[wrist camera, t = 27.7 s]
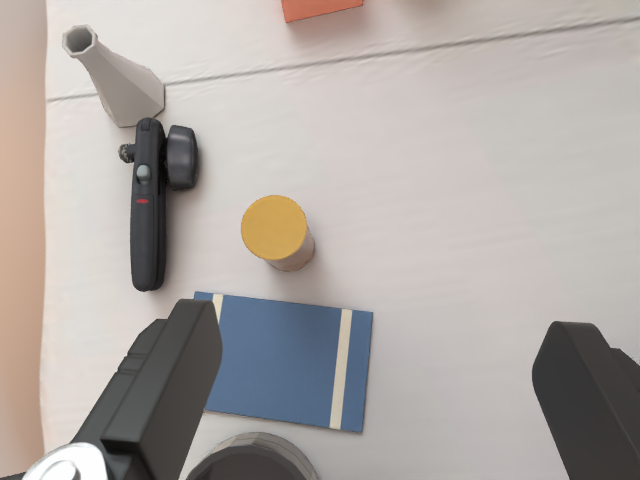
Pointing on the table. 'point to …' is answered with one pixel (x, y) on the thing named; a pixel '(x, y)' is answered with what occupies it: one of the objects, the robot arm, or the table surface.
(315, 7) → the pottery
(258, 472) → the pan
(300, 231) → the chocolate tin
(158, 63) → the table surface
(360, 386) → the tea towel
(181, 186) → the can opener
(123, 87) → the flask
